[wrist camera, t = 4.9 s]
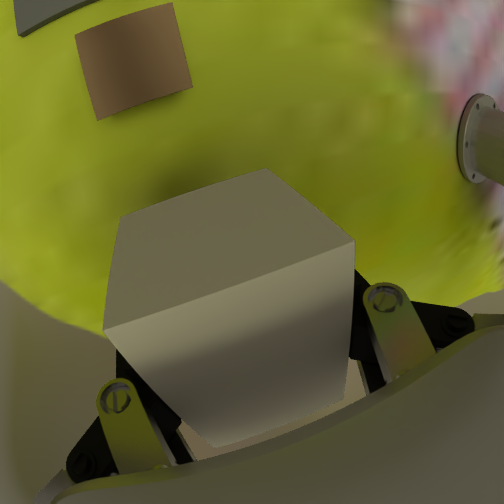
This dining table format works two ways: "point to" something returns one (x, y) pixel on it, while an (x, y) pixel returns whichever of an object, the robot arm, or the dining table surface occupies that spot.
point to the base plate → (42, 12)
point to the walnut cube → (133, 60)
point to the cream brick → (234, 305)
